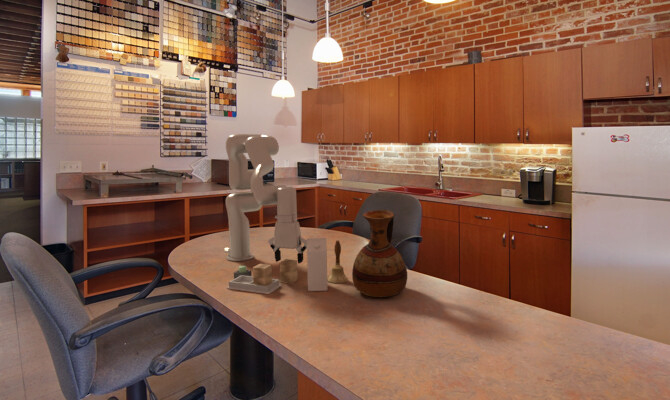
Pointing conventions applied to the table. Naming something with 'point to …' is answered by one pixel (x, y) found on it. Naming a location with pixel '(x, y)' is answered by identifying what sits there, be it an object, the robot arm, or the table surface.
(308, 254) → the milk carton
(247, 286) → the grey divided tray
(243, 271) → the button
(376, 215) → the ceramic pitcher
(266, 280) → the block
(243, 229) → the robot arm
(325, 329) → the table surface
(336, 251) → the hand bell
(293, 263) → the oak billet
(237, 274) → the console
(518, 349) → the table surface
